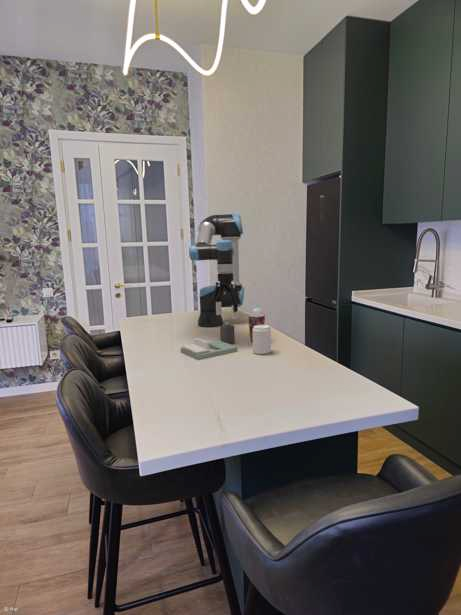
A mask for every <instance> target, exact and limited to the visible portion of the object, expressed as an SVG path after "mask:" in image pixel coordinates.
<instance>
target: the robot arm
mask: <svg viewBox="0 0 461 615" xmlns="http://www.w3.org/2000/svg"><path fill="white" fill-rule="evenodd" d="M197 230H198V235H197V239H196V241H195V244H194V245H193V244H192V245H190V246H189V248H188V255H189V259H190V260H191V261H216V262H217V263H216V264H217V266H216V268H217V269H216V270H217V282H215V285H208V286H204V287H201V288H200V289H199V295H198V296H199V308H200V310H199V316H198V320H197V326H198V327H200V328H215V327H220V326H222V325H224V321H223V317H222V314H223V313H222V312H223V309H222V308H231V319H232V320H234V319H238V310H239V308H240V307H242V306H243V304H244V295H245V287H244V286H243V284H242V282H240V264H239V263H240V259H239V241H240V239H241V238H242V236H241V235H243V234H244V230H243V224H242V218H241V215H240V214H239V213H237V214H236V213H231V214H229V213H228V214H213V215H210V216H207V217H206V218H205V219H203V220H202V221H201V222H200V224H199V225H198V229H197ZM213 236H220V239H221V240H217V241H216V244H211V243H212V239H213V238H212V237H213ZM238 307H239V308H238Z"/></svg>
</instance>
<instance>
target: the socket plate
mask: <svg viewBox="0 0 461 615" xmlns="http://www.w3.org/2000/svg"><path fill="white" fill-rule="evenodd" d="M208 342H209V349H210V348H211V349H210V351H208V352H204V353H199V354H196V353H193V352H191V351H189V350H186V349H184V348H183V347H180V353H182V354H184V355H186V356H188V357H190V356H191V358H192V357H193V358H192V359H195V360H197V361H200V359H201V360H204V358H205V359H209V358H208V357H210V358H212V357H213V356H214V357H218V356H222V354H223V355H226V353H227V354H231V353H235V352H238V351H239V350H238V349H239V348H238V346H236V345H235V344H228V343H225V342H222V341H220V340H212V341H208ZM213 349H214V350H213ZM217 355H218V356H217ZM214 357H213V358H214Z"/></svg>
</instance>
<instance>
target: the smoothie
mask: <svg viewBox="0 0 461 615" xmlns="http://www.w3.org/2000/svg"><path fill="white" fill-rule="evenodd" d="M247 316H248V330H249V338H250V339H249V340H250V341H251V343H252V344H253V328H254V326H256V325H266V323H265V320H266V319H265V318H266V314H265V312H264V310H263V309H262V308H260V307H258V302H257V301H256V302H255V307H253V308H251V309H250V310H249V313H248V314H247Z"/></svg>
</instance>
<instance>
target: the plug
mask: <svg viewBox="0 0 461 615" xmlns="http://www.w3.org/2000/svg"><path fill="white" fill-rule="evenodd" d="M219 334H220V335H219V336H220V340H219V341H222V342H225V343H228V344H231V345H235V344H236V342H235V325H232V324H230V321H227V320H226V321H224V324H223V325H221V326H219Z"/></svg>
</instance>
